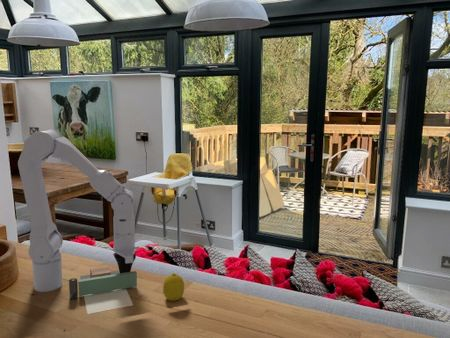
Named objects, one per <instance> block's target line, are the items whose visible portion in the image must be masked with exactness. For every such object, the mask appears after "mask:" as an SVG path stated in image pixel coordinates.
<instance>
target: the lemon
mask: <svg viewBox="0 0 450 338" xmlns="http://www.w3.org/2000/svg"><path fill="white" fill-rule="evenodd" d="M162 290H163V291H162V292H163V296H164V297H165V298H166V299H167V300H168V301H171V302H176V301H179V300H180V299H181V298H182V297H183V295H184V293H185V282H184V280H183V277H182V276H181V275H179V274H177V273H175V272H173V273H171V274H169V275H167V276H166V277H165V278H164V281H163V284H162Z"/></svg>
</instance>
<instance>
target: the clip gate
mask: <svg viewBox="0 0 450 338" xmlns="http://www.w3.org/2000/svg"><path fill="white" fill-rule="evenodd" d="M119 273H120V272H119ZM137 275H138V274H137V271H136V270H134V271H133V270H132V271H131V272H126V273H120V274H113V275H107V276H101V277H94V278H88V279H81V278H80V279H77V285H78V297H84V295H89V294H95V293H101V292H107V291H113V290H118V289H124V288H126V289H129V288H135V287H137V286H138V282H137V280H138V279H137V278H138V276H137Z"/></svg>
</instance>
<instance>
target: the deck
mask: <svg viewBox="0 0 450 338" xmlns="http://www.w3.org/2000/svg"><path fill="white" fill-rule="evenodd" d="M110 271H111V275H113V274H120V272H119V269H118V270H113V271H112V270H110ZM79 277H80V280H81V279H88V278H90V274H86V275H85V274H84V275H80V276H79ZM127 289H128V288H124V289H118V290H113V291H107V292H101V293H95V294H89V295H84V296H83V300H84V302H85V309H86V314H87V315H89V314H90V315H91V314H95V313H101V312H107V311H111V310H117V309H123V308H126V307H131V306H134V303H133V301H132V299H131V296H130V295H129V292H128V290H127Z"/></svg>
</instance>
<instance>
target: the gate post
mask: <svg viewBox="0 0 450 338" xmlns="http://www.w3.org/2000/svg"><path fill="white" fill-rule="evenodd" d="M68 286H69V287H68V290H69V300H70V301H75V300H77V299H78V298H79V286H78V278H76V277H74V278H70V279H69V280H68Z"/></svg>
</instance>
